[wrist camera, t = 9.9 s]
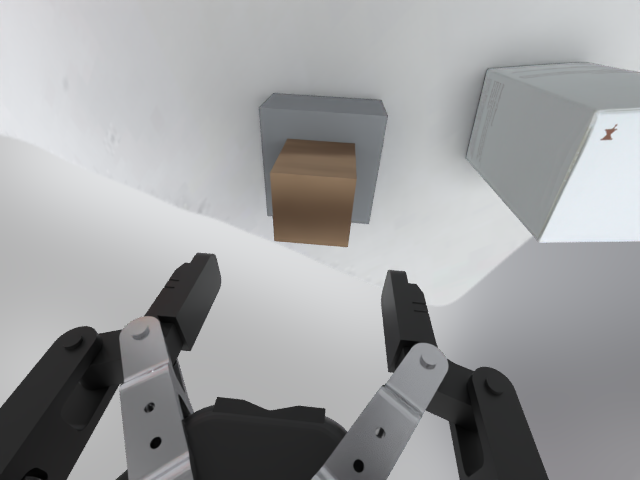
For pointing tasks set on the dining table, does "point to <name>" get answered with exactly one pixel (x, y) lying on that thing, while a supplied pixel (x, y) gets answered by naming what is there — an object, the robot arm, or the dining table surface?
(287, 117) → the base
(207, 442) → the robot arm
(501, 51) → the dining table surface
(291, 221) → the walnut block
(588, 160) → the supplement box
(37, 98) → the dining table surface
